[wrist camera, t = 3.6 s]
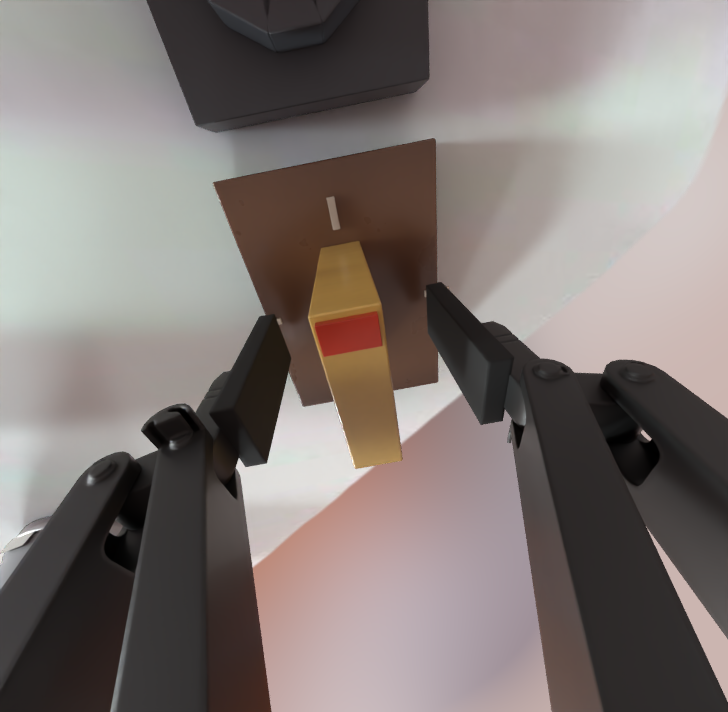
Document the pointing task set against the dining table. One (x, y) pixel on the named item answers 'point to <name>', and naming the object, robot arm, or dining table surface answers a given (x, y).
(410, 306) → the panel
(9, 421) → the dining table surface
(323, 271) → the lock handle
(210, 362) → the dining table surface
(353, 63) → the button box
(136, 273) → the dining table surface
